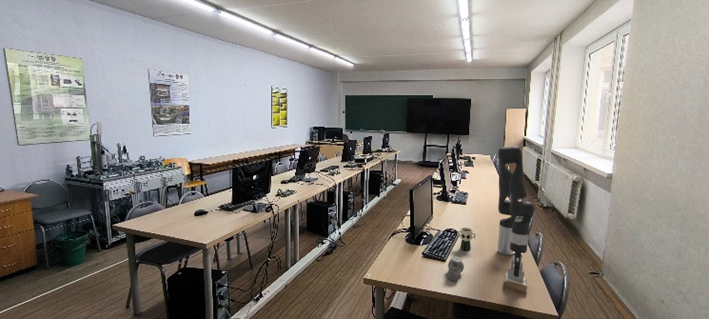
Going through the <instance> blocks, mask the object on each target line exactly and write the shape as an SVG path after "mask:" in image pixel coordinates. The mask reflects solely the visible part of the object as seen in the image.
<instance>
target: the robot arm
mask: <svg viewBox="0 0 709 319" xmlns="http://www.w3.org/2000/svg"><path fill="white" fill-rule="evenodd" d="M497 156H498V168H499V170H498V171H499V172H498V176H499V177H498V191H499V192H498V193H499V194H498V207H497V208H498V209H497V210H498V213H499V214H501V215H503V216H504V215H505V216H506V215H507V216H509V217H507V218H502V219H500V220H499V226H498V240H497V241H498V242H497V253H500V254H503V255H504V256H505V255H507V256H512V255H513V256H512V258H513V259H512V260H513V267H514V276H516V277H519V270H520V265H521V262H522V260H523V254H526V253H527V252H528V242H529V236H528V234H529V226H530V223H531V220H532V218H533V216H534V214H535V206H534V204H533V203H532V202H530V201H519V200H524V199H526V198H527V195H528V193H527V189H526V184H525V178H524V165H523V164H524V163H523V155H522V150H521V147H520V146H517V145H514V146H513V145H511V146H503V147H500V148H499V149H498V154H497ZM510 164H511V165H512V164H515V168H514V172H512V170H510V169H509V168H508V166H507V165H510ZM509 196H510V199H508V198H509ZM518 217H521V218H518ZM517 218H518V219H517Z"/></svg>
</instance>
